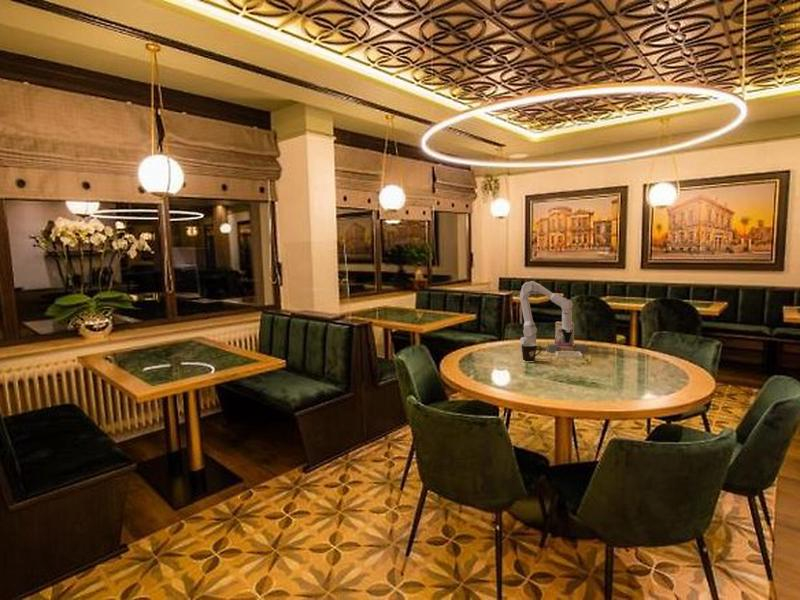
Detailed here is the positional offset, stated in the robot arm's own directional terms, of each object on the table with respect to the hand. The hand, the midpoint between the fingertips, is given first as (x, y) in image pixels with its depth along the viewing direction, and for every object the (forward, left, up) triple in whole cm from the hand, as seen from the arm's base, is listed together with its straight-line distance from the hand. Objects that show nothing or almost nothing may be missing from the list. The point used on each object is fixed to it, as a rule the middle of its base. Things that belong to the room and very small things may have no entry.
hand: (566, 341), depth 286 cm
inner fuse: (-7, +3, -6) cm, 10 cm away
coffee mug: (-28, -13, -8) cm, 32 cm away
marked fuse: (0, 0, -1) cm, 1 cm away
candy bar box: (+7, +17, -8) cm, 20 cm away
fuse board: (0, 0, -7) cm, 7 cm away
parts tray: (-3, -9, -7) cm, 12 cm away
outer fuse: (+8, -3, -6) cm, 10 cm away
